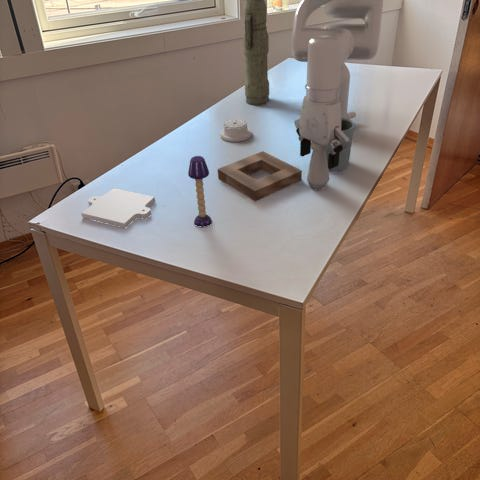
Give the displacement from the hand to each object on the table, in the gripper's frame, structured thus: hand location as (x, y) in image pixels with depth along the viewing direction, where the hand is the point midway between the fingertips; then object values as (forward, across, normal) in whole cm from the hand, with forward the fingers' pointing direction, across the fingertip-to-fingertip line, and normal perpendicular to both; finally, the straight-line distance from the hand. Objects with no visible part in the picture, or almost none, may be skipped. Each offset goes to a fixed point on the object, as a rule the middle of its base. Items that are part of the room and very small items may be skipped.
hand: (318, 160), depth 121 cm
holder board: (+7, -13, -8) cm, 18 cm away
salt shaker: (+8, 0, 0) cm, 8 cm away
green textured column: (+6, -60, +30) cm, 68 cm away
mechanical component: (+7, -41, +5) cm, 42 cm away
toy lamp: (+8, -6, -32) cm, 33 cm away
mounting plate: (+9, -25, -44) cm, 52 cm away
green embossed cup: (+7, -6, +12) cm, 16 cm away
